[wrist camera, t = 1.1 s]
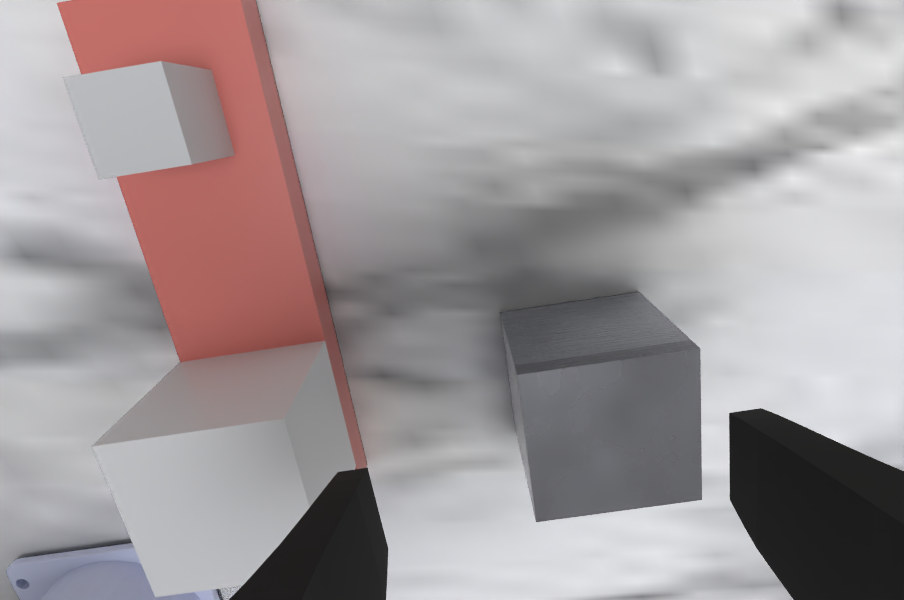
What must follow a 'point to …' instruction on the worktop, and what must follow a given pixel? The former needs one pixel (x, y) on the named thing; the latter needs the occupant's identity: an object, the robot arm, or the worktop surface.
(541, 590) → the worktop surface
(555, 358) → the grey cube
